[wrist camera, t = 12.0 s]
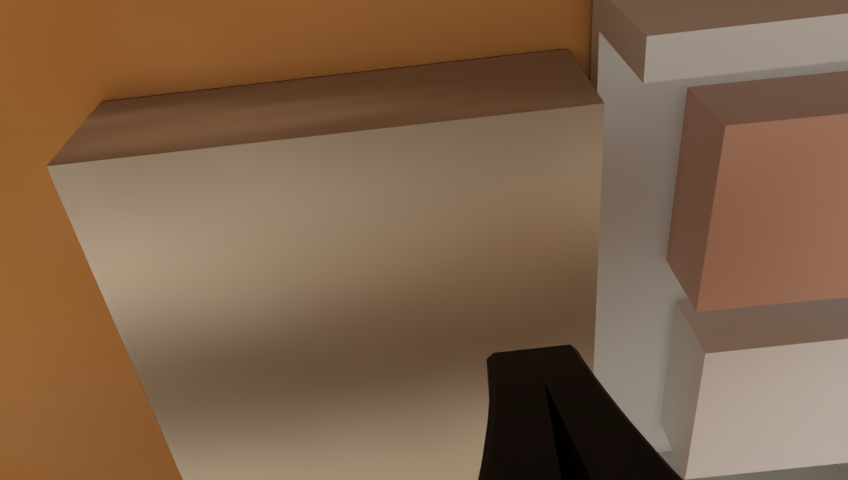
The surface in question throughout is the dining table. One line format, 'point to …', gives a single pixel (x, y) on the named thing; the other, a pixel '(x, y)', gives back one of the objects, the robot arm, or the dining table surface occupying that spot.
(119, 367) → the dining table surface
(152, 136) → the birch board
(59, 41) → the dining table surface
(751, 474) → the tray
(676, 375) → the white tile
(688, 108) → the terracotta tile
